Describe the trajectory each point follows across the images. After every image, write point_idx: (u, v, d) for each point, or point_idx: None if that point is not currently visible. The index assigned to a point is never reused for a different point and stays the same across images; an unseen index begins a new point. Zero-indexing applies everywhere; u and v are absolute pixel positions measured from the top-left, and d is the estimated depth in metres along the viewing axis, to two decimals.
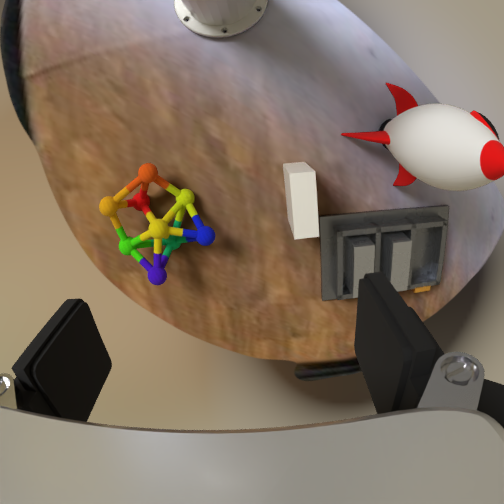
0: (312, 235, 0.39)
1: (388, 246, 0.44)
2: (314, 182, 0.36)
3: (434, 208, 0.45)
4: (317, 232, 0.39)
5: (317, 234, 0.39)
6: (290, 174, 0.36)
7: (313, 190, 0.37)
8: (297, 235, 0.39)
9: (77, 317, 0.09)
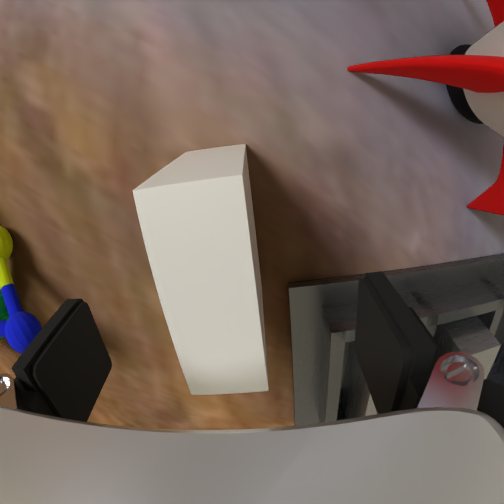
0: (246, 388, 0.11)
1: None
2: (241, 222, 0.09)
3: None
4: (262, 381, 0.11)
5: (262, 386, 0.11)
6: (138, 193, 0.08)
7: (238, 254, 0.09)
8: (199, 386, 0.11)
9: (77, 317, 0.09)
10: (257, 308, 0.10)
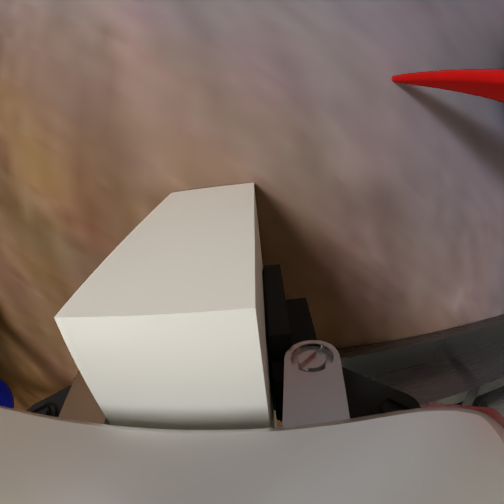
0: None
1: None
2: (251, 381, 0.04)
3: None
4: None
5: None
6: (63, 322, 0.04)
7: (246, 420, 0.05)
8: None
9: None
10: None
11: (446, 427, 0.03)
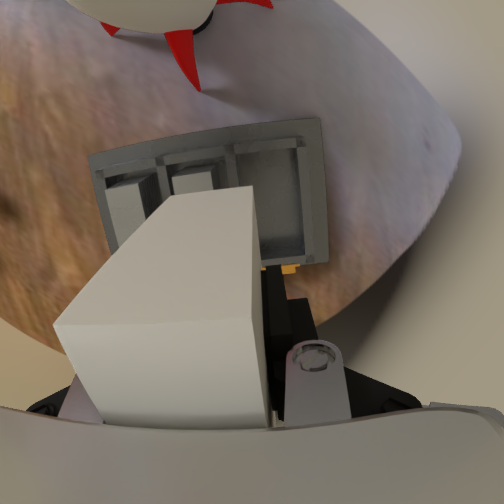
0: None
1: None
2: (248, 388, 0.04)
3: (287, 122, 0.27)
4: None
5: None
6: (62, 330, 0.04)
7: (244, 425, 0.05)
8: None
9: None
10: None
11: (446, 427, 0.03)
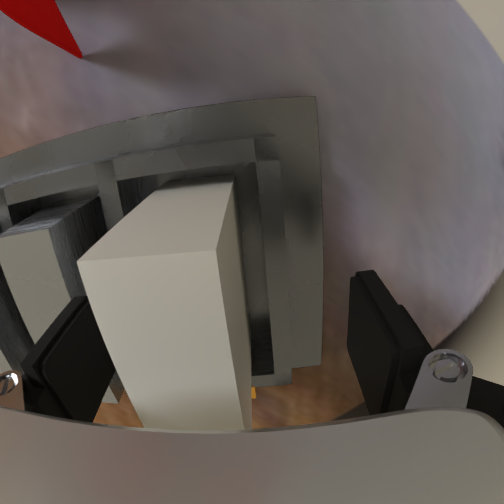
0: None
1: None
2: (215, 309, 0.06)
3: (243, 105, 0.12)
4: None
5: None
6: (83, 265, 0.06)
7: (213, 345, 0.07)
8: None
9: (85, 314, 0.09)
10: (237, 399, 0.08)
11: (446, 427, 0.03)
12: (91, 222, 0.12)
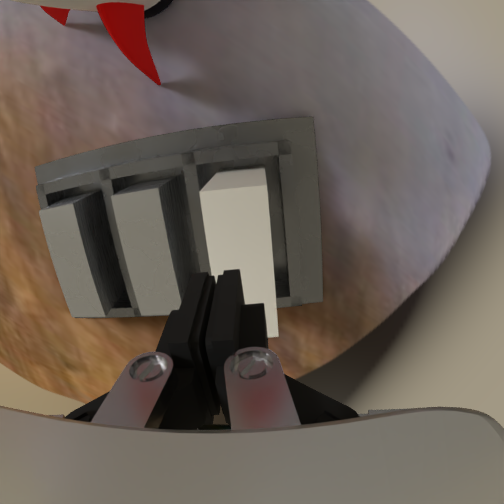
0: None
1: None
2: (265, 213, 0.14)
3: (269, 122, 0.20)
4: (274, 328, 0.17)
5: (274, 332, 0.17)
6: (202, 193, 0.14)
7: (263, 234, 0.15)
8: None
9: (212, 289, 0.10)
10: (273, 270, 0.16)
11: (446, 427, 0.03)
12: (173, 191, 0.20)
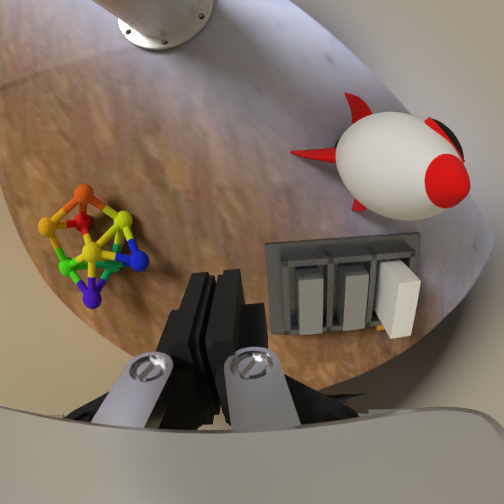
0: (405, 334, 0.38)
1: (342, 279, 0.40)
2: (418, 290, 0.35)
3: (402, 236, 0.41)
4: (410, 332, 0.38)
5: (409, 333, 0.38)
6: (400, 283, 0.35)
7: (415, 297, 0.36)
8: (393, 335, 0.38)
9: (212, 289, 0.10)
10: (415, 310, 0.36)
11: (446, 427, 0.03)
12: None
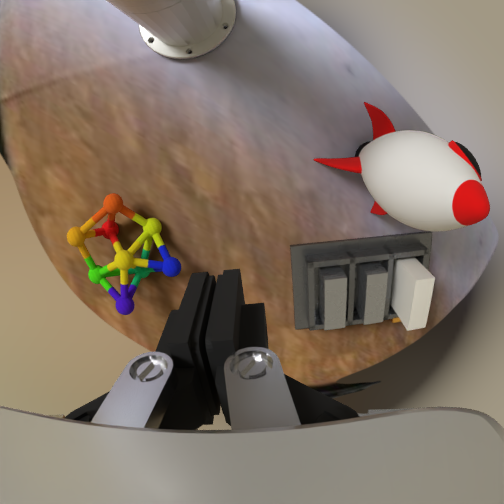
0: (420, 326, 0.41)
1: (363, 277, 0.43)
2: (432, 286, 0.38)
3: (416, 235, 0.44)
4: (425, 324, 0.40)
5: (424, 325, 0.40)
6: (416, 281, 0.38)
7: (430, 292, 0.38)
8: (410, 327, 0.40)
9: (211, 289, 0.10)
10: None
11: (446, 427, 0.03)
12: None
